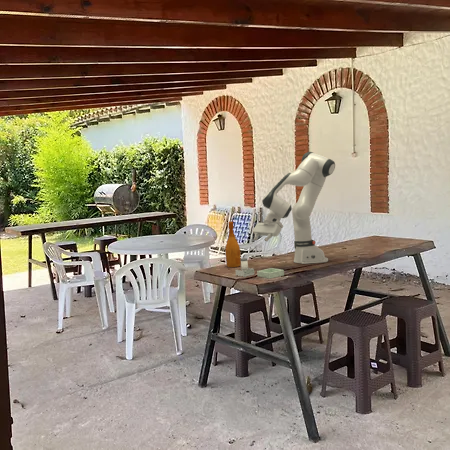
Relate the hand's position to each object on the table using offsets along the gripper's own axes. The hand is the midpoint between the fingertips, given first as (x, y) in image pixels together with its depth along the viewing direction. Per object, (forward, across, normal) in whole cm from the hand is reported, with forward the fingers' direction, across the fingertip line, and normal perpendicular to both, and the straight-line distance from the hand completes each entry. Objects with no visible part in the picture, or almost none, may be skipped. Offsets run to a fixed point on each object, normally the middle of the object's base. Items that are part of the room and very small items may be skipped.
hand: (260, 240), depth 312 cm
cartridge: (+22, -2, +5) cm, 23 cm away
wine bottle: (+12, -30, +16) cm, 36 cm away
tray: (+18, +13, +10) cm, 24 cm away
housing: (+22, -2, +5) cm, 23 cm away
